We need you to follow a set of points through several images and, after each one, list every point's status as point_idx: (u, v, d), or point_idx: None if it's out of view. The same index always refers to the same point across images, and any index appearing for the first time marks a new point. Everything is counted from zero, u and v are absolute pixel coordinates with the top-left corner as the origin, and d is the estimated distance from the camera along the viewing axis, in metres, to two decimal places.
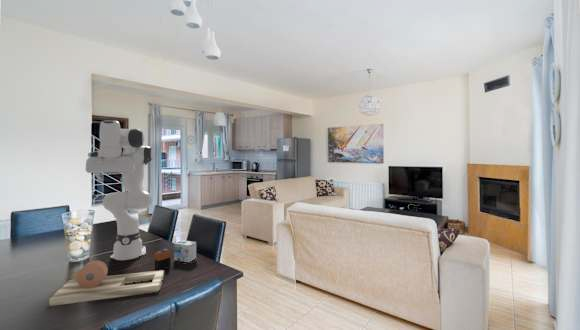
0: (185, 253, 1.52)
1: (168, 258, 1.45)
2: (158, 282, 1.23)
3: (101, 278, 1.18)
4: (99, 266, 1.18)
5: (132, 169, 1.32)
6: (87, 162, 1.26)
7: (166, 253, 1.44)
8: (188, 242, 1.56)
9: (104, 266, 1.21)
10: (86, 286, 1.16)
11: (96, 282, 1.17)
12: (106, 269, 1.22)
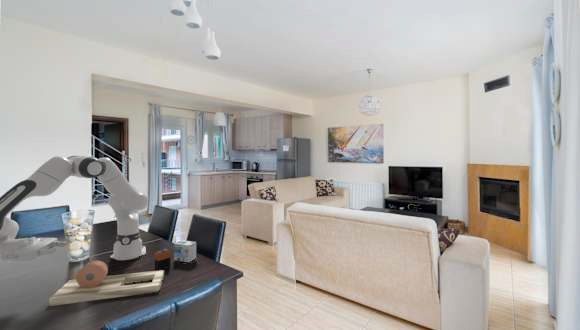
0: (185, 253, 1.52)
1: (168, 258, 1.45)
2: (158, 282, 1.23)
3: (101, 278, 1.18)
4: (99, 266, 1.18)
5: None
6: None
7: (166, 253, 1.44)
8: (188, 242, 1.56)
9: (104, 266, 1.21)
10: (86, 286, 1.16)
11: (96, 282, 1.17)
12: (106, 269, 1.22)
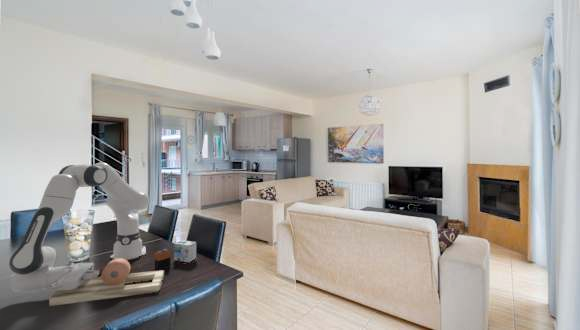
0: (185, 253, 1.52)
1: (168, 258, 1.45)
2: (158, 282, 1.23)
3: (108, 283, 1.19)
4: (122, 281, 1.21)
5: None
6: None
7: (166, 253, 1.44)
8: (188, 242, 1.56)
9: None
10: (105, 270, 1.18)
11: (105, 279, 1.18)
12: None
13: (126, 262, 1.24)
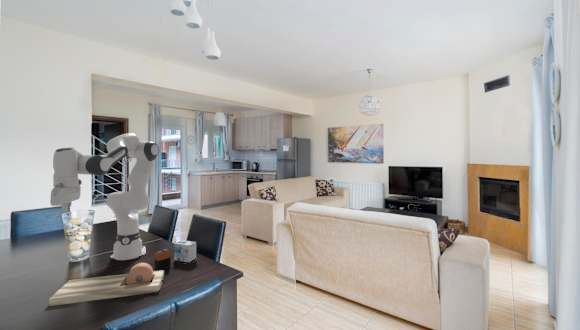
0: (185, 253, 1.52)
1: (168, 258, 1.45)
2: (158, 282, 1.23)
3: (136, 269, 1.21)
4: (127, 277, 1.21)
5: (50, 202, 1.15)
6: None
7: (166, 253, 1.44)
8: (188, 242, 1.56)
9: None
10: (149, 275, 1.23)
11: (141, 270, 1.22)
12: (132, 267, 1.25)
13: None
